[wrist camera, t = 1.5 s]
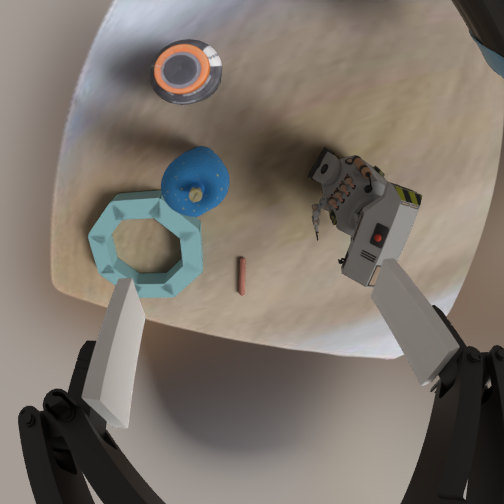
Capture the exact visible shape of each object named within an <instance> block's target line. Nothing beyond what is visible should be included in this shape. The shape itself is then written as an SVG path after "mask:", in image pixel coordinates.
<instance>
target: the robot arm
mask: <svg viewBox="0 0 504 504" xmlns="http://www.w3.org/2000/svg"><path fill="white" fill-rule="evenodd" d="M452 2H453V3H454V5H455V7H456V8H457V10H458V11H459V13H460V15H461V16H462V18H463V20H464V21H465V23H466V25H467V27H468V28H469V33H470V35H471V37H472V38H473V40H474V41H475V42H476V43H477V45H478V47H479V49H480V51H481V52H482V54H483V56H484V58H485V60H486V62H487V63H488V65H489V66H490V67H491V68H492V69H493V70H494V71H495V72H496V73H497V74H498V75H500V76H502V77H503V78H504V0H452ZM371 298H372V299H373V301H374V303H375V304H376V306H377V308H378V309H379V311H380V313H381V314H382V316H383V318H384V319H385V321H386V323H387V324H388V326H389V328H390V330H391V331H392V333H393V335H394V337H395V338H396V340H397V342H398V344H399V345H400V347H401V349H402V351H403V353H404V355H405V356H406V358H407V360H408V362H409V364H410V366H411V367H412V370H413V371H414V373H415V375H416V377H417V379H418V381H419V383H420V385H421V386H423V385H425V384H428V383H430V382H432V381H433V380H434V379H435V378H436V376H437V375H439V377H440V380H439V381H438V382H437V383H436V384H435V385H434V386H433V387H432V388H431V392H432V391H433V390H434V389H435V388H436V387H437V389H436V391H435V393H436V394H435V399H434V404H433V409H432V413H431V417H430V422H429V426H428V429H427V433H426V437H425V440H424V443H423V447H422V450H421V453H420V456H419V459H418V462H417V465H416V468H415V471H414V473H413V476H412V479H411V481H410V484H409V486H408V489H407V491H406V493H405V496H404V498H403V500H402V502H401V504H504V348H502V347H501V346H498V345H496V346H493V347H492V349H491V350H490V351H489V352H482V353H480V352H479V351H478V350H477V349H476V348H474V347H471V346H468V347H467V346H466V345H465V343H464V342H463V340H462V339H461V338H460V336H459V335H458V333H457V331H456V330H455V329H454V327H453V326H451V323H450V322H449V320H447V317H446V316H445V315H444V313H443V312H442V311H441V310H440V309H439V308H438V307H436V306H435V305H432V306H431V304H430V303H429V302H428V300H427V299H426V298H425V296H424V295H423V294H422V292H421V291H420V290H419V289H418V287H417V286H416V285H415V283H414V282H413V281H412V280H411V278H410V277H409V276H408V275H407V273H406V272H405V271H404V270H403V269H402V267H401V266H400V265H399V264H398V263H397V261H396V260H395V259H394V258H391V259H383V262H382V265H381V268H380V271H379V274H378V277H377V280H376V283H375V286H374V289H373V292H372V295H371ZM144 322H145V314H144V311H143V309H142V306H141V303H140V300H139V297H138V294H137V291H136V288H135V285H134V282H133V279H132V278H120V279H118V281H117V284H116V286H115V289H114V291H113V294H112V297H111V300H110V302H109V305H108V308H107V311H106V314H105V317H104V319H103V322H102V325H101V329H100V332H99V335H98V338H97V341H86V343H85V344H84V345H83V346H82V348H81V349H80V352H79V355H78V358H77V362H76V365H75V369H74V372H73V375H72V379H71V382H70V386H69V390H68V393H67V392H66V391H64V390H62V389H54V390H51V391H50V392H49V393H47V394H46V396H45V398H44V402H43V409H44V411H39V410H37V409H36V408H35V407H33V406H26V407H24V408H23V409H22V410H21V411H20V413H19V416H18V425H19V432H20V439H21V445H22V451H23V456H24V461H25V465H26V469H27V473H28V477H29V481H30V485H31V488H32V492H33V495H34V498H35V501H36V504H95V503H94V501H93V499H92V496H91V494H90V491H89V489H88V486H87V484H86V481H85V478H84V476H83V474H84V475H85V477H86V478H87V480H88V482H89V483H90V485H91V486H92V488H93V489H94V491H95V492H96V494H97V495H98V496H99V498H100V499H101V501H102V502H103V503H104V504H165V503H164V502H163V501H162V499H161V498H160V497H159V496H158V495H157V494H156V493H155V492H154V491H153V490H152V488H151V487H150V486H149V485H148V484H147V483H146V482H145V480H144V479H143V478H142V477H141V476H140V474H139V473H138V472H137V471H136V470H135V468H134V467H133V466H132V464H131V463H130V462H129V461H128V459H127V458H126V456H125V455H124V454H123V453H122V451H121V450H120V448H119V447H118V445H117V444H116V443H115V441H114V440H113V438H112V437H111V435H110V434H109V432H108V431H107V430H106V423H109V424H110V425H111V426H112V427H118V428H126V429H128V426H129V416H130V407H131V399H132V391H133V384H134V377H135V371H136V365H137V359H138V353H139V347H140V341H141V337H142V331H143V327H144ZM490 381H491V385H492V386H491V387H490V388H489V389H488V387H487V384H488V383H489V382H490ZM82 472H83V473H82ZM467 480H468V485H467V494H466V500H465V499H464V498H463V494H464V490H465V487H466V483H467Z"/></svg>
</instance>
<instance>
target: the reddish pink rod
mask: <svg viewBox="0 0 504 504" xmlns="http://www.w3.org/2000/svg"><path fill="white" fill-rule="evenodd" d="M245 264H246V260H245V258H241V259H240V278H239V294H240V295H241V296H243V295H244V293H245Z"/></svg>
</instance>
